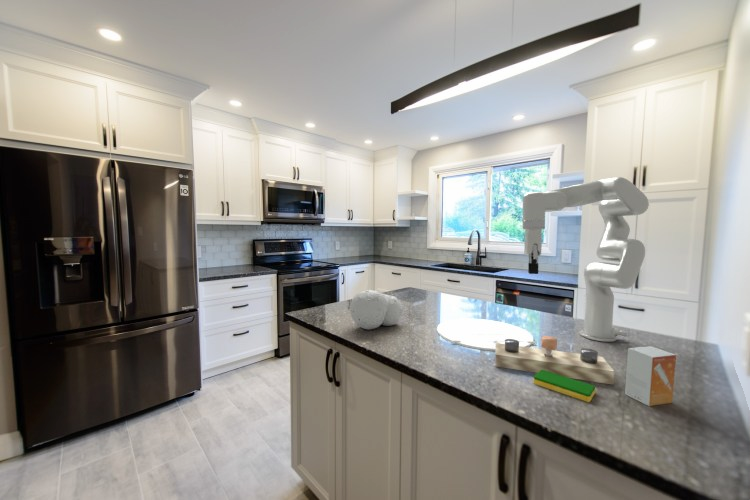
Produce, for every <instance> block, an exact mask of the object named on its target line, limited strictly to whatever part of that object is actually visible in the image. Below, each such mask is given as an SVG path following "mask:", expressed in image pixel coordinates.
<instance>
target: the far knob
mask: <svg viewBox="0 0 750 500" xmlns="http://www.w3.org/2000/svg"><path fill="white" fill-rule="evenodd" d="M505 350H506V351H509V352H519V341H517V340H514V339H506V340H505Z"/></svg>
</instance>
